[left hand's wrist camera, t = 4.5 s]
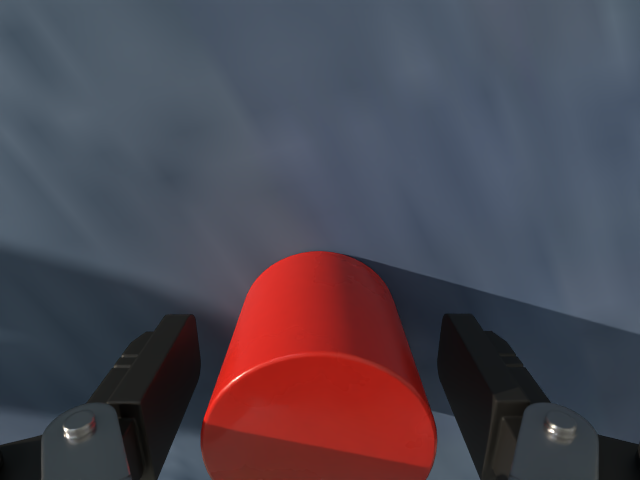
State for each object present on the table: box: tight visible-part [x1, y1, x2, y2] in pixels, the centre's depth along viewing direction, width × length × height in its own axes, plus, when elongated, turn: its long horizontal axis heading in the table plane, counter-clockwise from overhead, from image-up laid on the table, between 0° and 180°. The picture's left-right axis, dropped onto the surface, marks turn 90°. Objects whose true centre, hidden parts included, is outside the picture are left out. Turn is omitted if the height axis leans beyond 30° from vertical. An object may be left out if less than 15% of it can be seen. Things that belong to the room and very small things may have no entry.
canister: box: [201, 251, 437, 480], centre depth 11 cm, size 5×5×5 cm
